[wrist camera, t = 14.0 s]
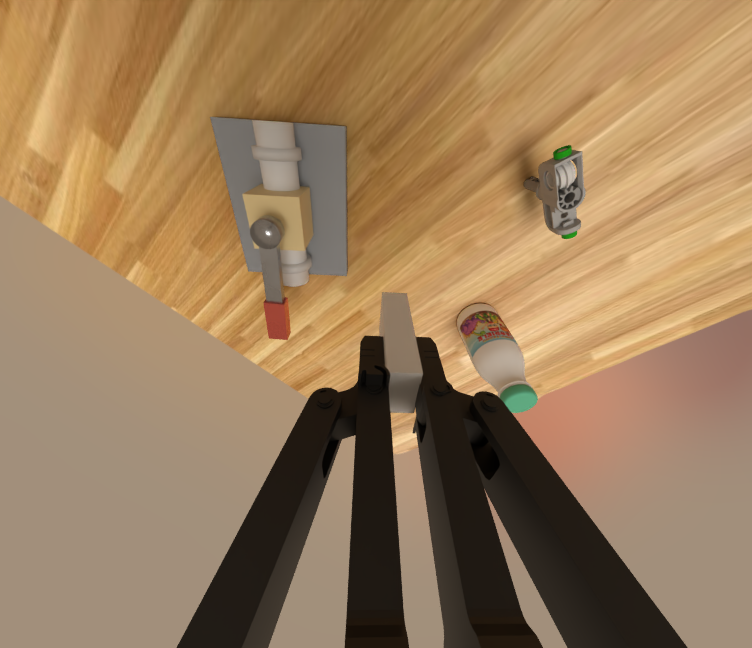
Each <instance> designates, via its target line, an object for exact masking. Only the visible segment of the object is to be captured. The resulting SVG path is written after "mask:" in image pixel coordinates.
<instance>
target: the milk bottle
mask: <svg viewBox="0 0 752 648" xmlns="http://www.w3.org/2000/svg"><path fill="white" fill-rule="evenodd" d="M457 328H458V330H459V333H460V335H461V338H462V340H463V342H464V345H465V347H466V349H467V352H468V354H469V356H470V359H471V361H472V363H473V365H474V367H475V369H476V370H477V372H478V373H479V375H480V376H481V377H482V378H483V379H484V380H485V381H487V382H488V383H489V384H491V385H492V386H493V387H494V388H495V389H496V390H497V391H498V397H499V398H500V399H501V400H502V401H503V402H504V403H505V405H506V406H507V407H508V409H509V410H510V411H511V412H513V413H519V412H524V411H527V410H529V409H530V408H532V407H533V406H534V405H535V404H536V403H537V400H538V398H537V395H536V393H535V391H534V390H533V389H532V387H531V385H530V384H529V383H527V382H526V379H525V363H524V357H523V354H522V352H521V350H520V348H519V346H518V344H517V343H516V341H515V339H514V338H513V336H512V335H511V333H510V332H509V330H508V328H507V327H506V325H505V324H504V322H503V321H502V319H501V318H500V316H499V315H498V313H497V312H496V311H495V309H494V308H493V307H491V306H490V305H487V304H482V303H479V304H473V305H470V306H468V307H467V308H465V309H464V310H463V311H462V312H461V313H460V314H459V316H458V319H457Z"/></svg>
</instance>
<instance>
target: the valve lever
mask: <svg viewBox="0 0 752 648" xmlns="http://www.w3.org/2000/svg"><path fill="white" fill-rule="evenodd" d="M284 235H285V230H284V226H283V224H282V223H281V222H280V221H279V220H278V219H277V218H276V217H274V216H271V215H264V216H262V217H260V218H259V219H258V220H256V221H255V222H254V223H253V224H252V225H251V227H250V236H251V238H252V240H253V242H254V243H255V244H256V245H257V246H259V251H260V258H261V265H262V272H263V279H264V286H265V293H266V300H265V301H264V309H265V315H266V322H267V329H268V335H269V338H271V339H283V340H288V337H289V335H290V332H291V331H290V319H289V308H288V298H286V297H285V296H284V285H283V275H282V264H281V253H280V242H281V240H282V239H283V238H284Z"/></svg>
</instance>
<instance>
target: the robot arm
mask: <svg viewBox="0 0 752 648" xmlns="http://www.w3.org/2000/svg"><path fill="white" fill-rule="evenodd" d="M379 331H380V336H364V338H363V339H362V341H361V344H360V364H359V374H358V381H357V383H356V384H355V386H354V387H352V388H350V389H348V390H346V391H342V392H337V391H336V390H334V389H332V388H321V389H318V390H316V391H315V392H313V393H312V395H311V396H310V397H309V399H308V401H307V403H306V405H305V407H304V409H303V411H302V413H301V414H300V416H299V418H298V420H297V422H296V424H295V426H294V428H293V429H292V431H291V433H290V435H289V437H288V439H287V441H286V443H285V445H284V446H283V448H282V450H281V452H280V454H279V456H278V458H277V460H276V461H275V464H274V465H273V467H272V469H271V471H270V473H269V475H268V477H267V478H266V481H265V482H264V484H263V486H262V488H261V490H260V492H259V494H258V495H257V497H256V499H255V501H254V503H253V505H252V507H251V509H250V510H249V512H248V514H247V516H246V518H245V520H244V522H243V524H242V526H241V527H240V529H239V531H238V533H237V535H236V537H235V539H234V541H233V543H232V544H231V547H230V548H229V550H228V552H227V554H226V556H225V558H224V560H223V561H222V563H221V565H220V567H219V569H218V571H217V573H216V575H215V577H214V578H213V580H212V582H211V584H210V586H209V588H208V590H207V592H206V593H205V595H204V597H203V599H202V601H201V603H200V605H199V607H198V608H197V610H196V612H195V614H194V616H193V618H192V620H191V622H190V624H189V625H188V627H187V629H186V631H185V633H184V635H183V637H182V639H181V641H180V642H179V644H178V646H177V648H268V646H269V643H270V640H271V638H272V635H273V632H274V629H275V626H276V623H277V621H278V618H279V615H280V612H281V609H282V607H283V604H284V601H285V598H286V595H287V593H288V590H289V587H290V584H291V581H292V579H293V576H294V573H295V570H296V567H297V564H298V561H299V559H300V556H301V553H302V550H303V547H304V545H305V541H306V539H307V536H308V533H309V530H310V528H311V525H312V522H313V519H314V516H315V514H316V511H317V508H318V505H319V502H320V499H321V497H322V494H323V491H324V488H325V485H326V483H327V480H328V477H329V474H330V471H331V468H332V466H333V463H334V460H335V457H336V454H337V452H338V449H339V446H340V443H341V440H342V439H344V438H347V437H350V436H354V435H356V438H355V439H356V441H355V459H354V480H353V499H352V520H351V539H350V559H349V580H348V602H347V619H346V635H345V648H409V644H408V637H407V632H406V627H405V621H404V611H403V597H402V584H401V583H402V582H401V566H400V551H399V536H398V521H397V506H396V491H395V478H394V477H395V476H394V462H393V446H392V431H391V415H390V412H394V413H414V410H415V408H416V419H415V424H414V428H413V433H415V432H416V433H417V440H418V448H419V455H420V461H421V469H422V476H423V483H424V490H425V497H426V505H427V512H428V519H429V526H430V533H431V540H432V547H433V554H434V561H435V568H436V576H437V583H438V590H439V597H440V604H441V611H442V618H443V625H444V648H543V647H542V645H541V643H540V641H539V639H538V637H537V636H536V634H535V633H534V632H533V631H532V629H531V628H530V627H529V626H528V624H527V623H526V621H525V619H524V617H523V614H522V611H521V608H520V605H519V602H518V598H517V595H516V592H515V589H514V585H513V582H512V579H511V576H510V572H509V569H508V566H507V563H506V559H505V556H504V553H503V549H502V546H501V543H500V539H499V536H498V533H497V529H496V526H495V523H494V520H493V516H492V513H491V510H490V506H489V504H488V500H487V497H486V493H487V495H488V497H489V498H490V500H491V502H492V504H493V506H494V508H495V510H496V512H497V514H498V516H499V518H500V519H501V521H502V523H503V525H504V527H505V529H506V531H507V533H508V535H509V537H510V538H511V540H512V542H513V544H514V546H515V548H516V550H517V552H518V554H519V556H520V558H521V560H522V561H523V563H524V565H525V567H526V569H527V571H528V573H529V575H530V577H531V578H532V581H533V583H534V584H535V586H536V588H537V590H538V592H539V594H540V596H541V598H542V600H543V601H544V603H545V605H546V607H547V609H548V611H549V613H550V615H551V617H552V619H553V621H554V623H555V625H556V626H557V628H558V630H559V632H560V634H561V636H562V638H563V640H564V642H565V644H566V645H567V648H687V646H686V645H685V644H684V642H683V641H682V640H681V638H680V637H679V636H678V634H677V633H676V632H675V630H674V629H673V628H672V626H671V625H670V624H669V622H668V621H667V620H666V618H665V617H664V616H663V614H662V613H661V612H660V610H659V609H658V608H657V606H656V605H655V604H654V602H653V601H652V600H651V598H650V597H649V596H648V594H647V593H646V592H645V590H644V589H643V588H642V586H641V585H640V584H639V582H638V581H637V580H636V578H635V577H634V576H633V574H632V573H631V572H630V570H629V569H628V568H627V566H626V565H625V564H624V562H623V561H622V559H621V558H620V557H619V555H618V554H617V553H616V551H615V550H614V549H613V547H612V546H611V545H610V544H609V542H608V541H607V539H606V538H605V537H604V535H603V534H602V533H601V531H600V530H599V529H598V527H597V526H596V525H595V523H594V522H593V521H592V519H591V518H590V517H589V516H588V514H587V513H586V511H585V510H584V509H583V507H582V506H581V505H580V503H579V502H578V501H577V500H576V498H575V497H574V495H573V494H572V493H571V491H570V490H569V489H568V487H567V486H566V485H565V484H564V482H563V481H562V479H561V478H560V477H559V475H558V474H557V473H556V471H555V470H554V469H553V467H552V466H551V465H550V463H549V462H548V461H547V459H546V458H545V457H544V455H543V454H542V453H541V452H540V450H539V449H538V447H537V446H536V445H535V444H534V442H533V441H532V440H531V438H530V437H529V436H528V434H527V433H526V432H525V430H524V429H523V428H522V426H521V425H520V423H519V422H518V421H517V420H516V418H515V417H514V416H513V414H512V413H511V411H510V410H509V409H508V407H507V406H506V405H505V403H504V402H503V401H502V400H501V399H500V398H499V397H498V396H496V395H495V394H493V393H490V392H478V393H476V394H475V396H474V397H473V396H470V395H467V394H463V393H460V392H458V391H456V390H454V389H453V387H452V385H451V384H450V383H449V382H447V380H446V378H445V374H444V371H443V367H442V364H441V360H440V358H439V353H438V350H437V347H436V344H435V343H434V341H433V340H432V339H431V338H429V337H415V332H414V327H413V322H412V317H411V312H410V307H409V302H408V297H407V293H388V292H382V302H381V314H380V326H379ZM484 489H485V490H484ZM485 491H486V493H485Z"/></svg>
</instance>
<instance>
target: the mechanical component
mask: <svg viewBox="0 0 752 648" xmlns="http://www.w3.org/2000/svg"><path fill="white" fill-rule="evenodd" d="M553 155H554V157H553V158H551V159H549V160H548V161H546V162H544V163H542V164H540V165H539V169H538V172H539V179H538V178H535V177H531V179H530V180H529V179H527V180H525V182H524V187H525V188H526V189H529V190H531V191H533V192H536V196H537V198H538V199H540V200H542V202H543V209H544V217H545V222H546V225H547V227H548V228H549V230H551V231H552V232H554V233H556V234H558V235H562V238H564V239H569V238H573V237H575V236H576V235H577V230H579V229H580V227H581V221H580V220H579V219H577V216H576V208H577V207H578V206H579V205H580V204H581V203H582V201H583V199H584V197H585V188H584V181H583V159H582V151H576V150H572V149H571V145H568V146H564V147H561V148H559V149H557V150H555V151H554V152H553ZM570 160H572V161H573V162H574V163H575V165H576V168H577V177H576V179H575V168H574V165H573V164H572V163H571V161H570Z"/></svg>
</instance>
